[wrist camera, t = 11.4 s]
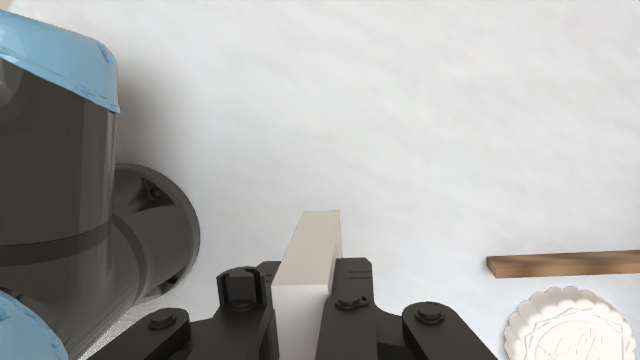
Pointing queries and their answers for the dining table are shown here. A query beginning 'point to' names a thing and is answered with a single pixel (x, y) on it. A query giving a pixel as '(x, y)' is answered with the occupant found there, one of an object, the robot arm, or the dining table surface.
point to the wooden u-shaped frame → (565, 264)
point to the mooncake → (568, 328)
